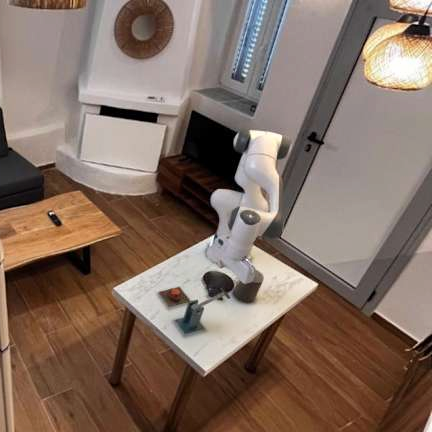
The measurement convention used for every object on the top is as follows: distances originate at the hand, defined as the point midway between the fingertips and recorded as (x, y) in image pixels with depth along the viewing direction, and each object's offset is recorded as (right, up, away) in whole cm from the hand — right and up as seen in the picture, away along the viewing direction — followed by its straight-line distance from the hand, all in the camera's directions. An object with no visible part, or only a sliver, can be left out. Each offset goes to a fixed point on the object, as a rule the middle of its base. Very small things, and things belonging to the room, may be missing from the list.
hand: (227, 274), depth 160 cm
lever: (-4, -13, +8) cm, 16 cm away
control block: (-13, -15, +27) cm, 34 cm away
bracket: (-11, -24, +14) cm, 30 cm away
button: (-13, -13, +25) cm, 31 cm away
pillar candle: (+21, -14, +29) cm, 38 cm away
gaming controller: (+7, -14, +29) cm, 33 cm away
